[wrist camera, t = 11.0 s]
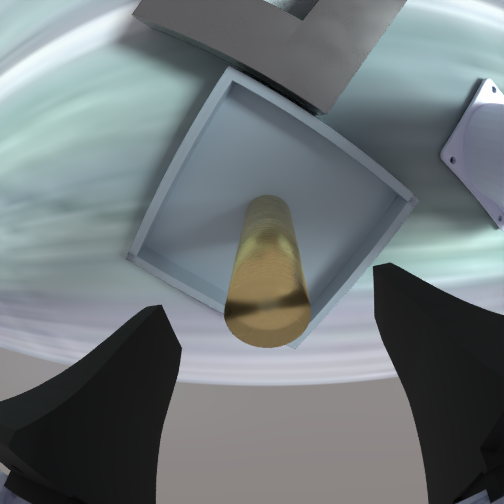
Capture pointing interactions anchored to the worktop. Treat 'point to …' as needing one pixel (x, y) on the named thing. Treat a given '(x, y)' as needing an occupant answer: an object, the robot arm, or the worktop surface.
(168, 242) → the tray
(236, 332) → the cylinder
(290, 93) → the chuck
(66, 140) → the worktop surface
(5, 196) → the worktop surface
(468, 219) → the worktop surface
